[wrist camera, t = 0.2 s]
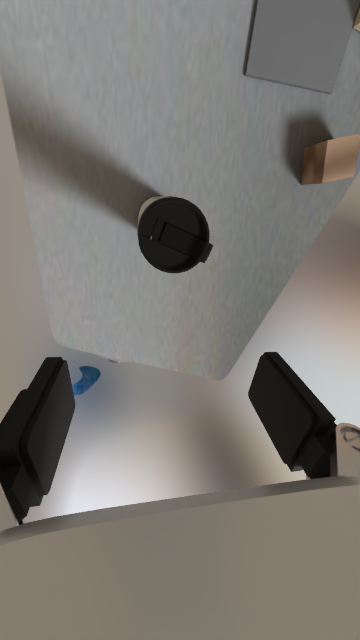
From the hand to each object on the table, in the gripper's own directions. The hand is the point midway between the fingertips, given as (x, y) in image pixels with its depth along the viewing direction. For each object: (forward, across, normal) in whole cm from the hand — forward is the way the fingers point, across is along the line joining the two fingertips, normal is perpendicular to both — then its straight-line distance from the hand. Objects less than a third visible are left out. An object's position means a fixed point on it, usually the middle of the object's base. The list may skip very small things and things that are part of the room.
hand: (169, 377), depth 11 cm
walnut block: (+31, -26, -15) cm, 44 cm away
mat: (+31, -18, -31) cm, 48 cm away
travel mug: (+31, -2, -5) cm, 32 cm away
